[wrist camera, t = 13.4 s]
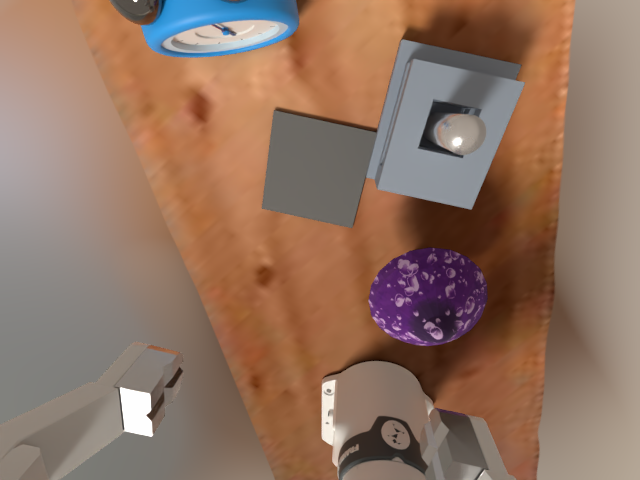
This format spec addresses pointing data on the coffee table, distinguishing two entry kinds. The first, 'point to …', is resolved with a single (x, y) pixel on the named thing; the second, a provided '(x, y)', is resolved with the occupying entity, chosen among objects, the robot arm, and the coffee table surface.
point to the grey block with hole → (447, 97)
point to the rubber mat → (316, 168)
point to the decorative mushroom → (428, 296)
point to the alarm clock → (210, 24)
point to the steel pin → (455, 132)
